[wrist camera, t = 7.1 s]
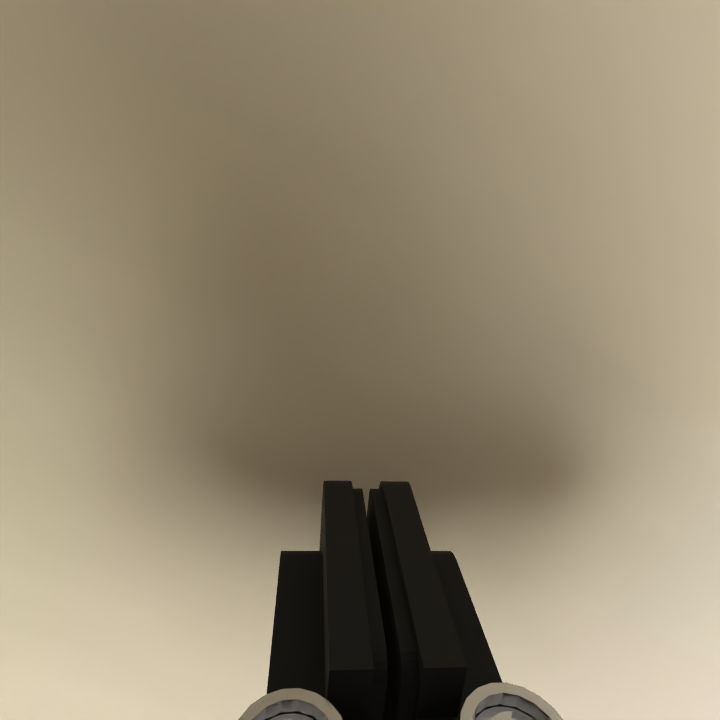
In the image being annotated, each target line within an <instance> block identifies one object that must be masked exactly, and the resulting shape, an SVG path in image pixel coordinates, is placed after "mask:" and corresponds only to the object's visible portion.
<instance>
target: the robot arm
mask: <svg viewBox="0 0 720 720" xmlns="http://www.w3.org/2000/svg"><path fill="white" fill-rule="evenodd" d="M238 720H563V719H562V718H561V716H560V715H559V714H558V712H557V711H556V710H555V709H554V708H553V707H552V706H551V705H550V704H548V703H547V702H546V701H545V700H544V699H543V698H541V697H540V696H539V695H537V694H535V693H533V692H531V691H529V690H528V689H526V688H524V687H521V686H517V685H513V684H510V683H502V680H501V678H500V675H499V672H498V670H497V667H496V664H495V662H494V659H493V656H492V654H491V651H490V648H489V646H488V643H487V640H486V638H485V635H484V632H483V630H482V627H481V624H480V622H479V619H478V616H477V614H476V611H475V608H474V606H473V603H472V600H471V598H470V595H469V592H468V590H467V587H466V584H465V582H464V579H463V576H462V574H461V571H460V568H459V566H458V563H457V560H456V558H455V556H454V554H453V553H452V552H451V551H431V550H430V547H429V544H428V540H427V537H426V534H425V531H424V528H423V525H422V521H421V518H420V515H419V512H418V509H417V505H416V502H415V499H414V496H413V493H412V490H411V486H410V484H409V482H389V481H381V482H380V485H379V489H370V491H369V499H368V510H367V516H366V510H365V503H364V497H363V490H362V489H355V488H352V482H351V481H324V483H323V498H322V517H321V535H320V551H281V556H280V565H279V575H278V586H277V596H276V606H275V616H274V626H273V636H272V646H271V657H270V667H269V677H268V687H267V694H266V695H264V696H263V697H262V698H260V699H259V700H257V701H256V702H254V703H253V704H251V705H250V706H249V707H248V709H247V710H246V711H245V712H244V713H243V715H242V716H241V717H240V718H239V719H238Z"/></svg>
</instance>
